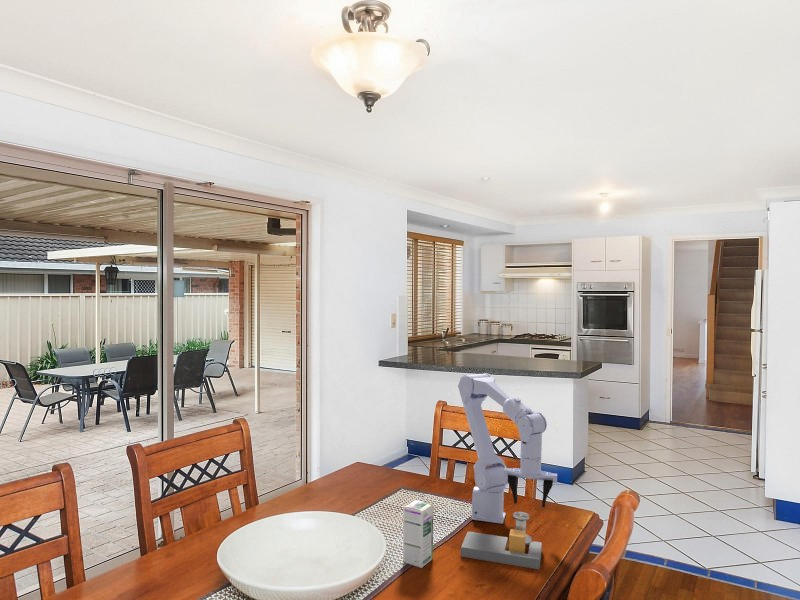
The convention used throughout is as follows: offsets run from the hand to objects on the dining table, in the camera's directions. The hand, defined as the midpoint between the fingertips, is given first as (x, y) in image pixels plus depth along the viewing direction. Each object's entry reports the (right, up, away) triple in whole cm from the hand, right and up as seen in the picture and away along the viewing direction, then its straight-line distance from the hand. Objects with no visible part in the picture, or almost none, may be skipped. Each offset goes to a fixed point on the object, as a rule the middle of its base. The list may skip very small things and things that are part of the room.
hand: (529, 504), depth 160 cm
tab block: (-6, -10, -11) cm, 16 cm away
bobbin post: (-3, -9, -2) cm, 10 cm away
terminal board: (-10, -9, -10) cm, 17 cm away
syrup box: (-32, -9, -15) cm, 37 cm away
